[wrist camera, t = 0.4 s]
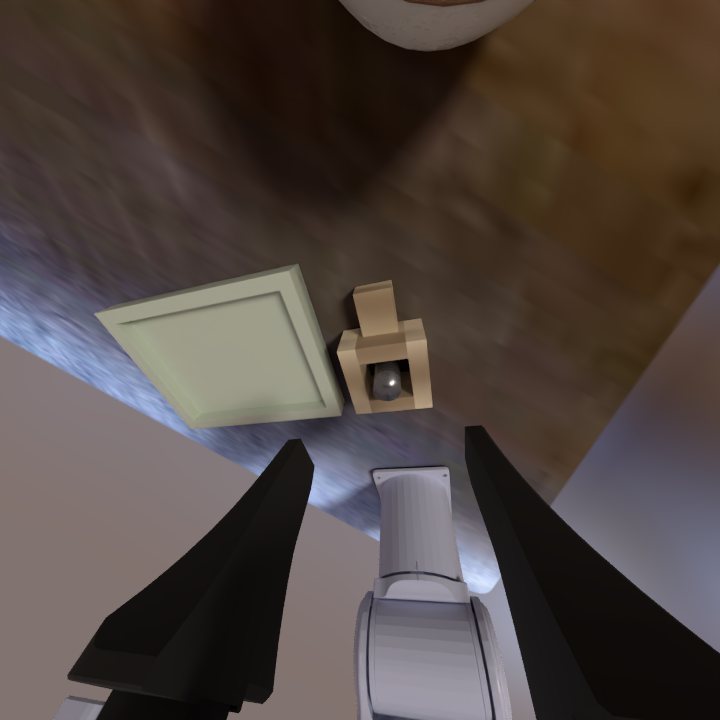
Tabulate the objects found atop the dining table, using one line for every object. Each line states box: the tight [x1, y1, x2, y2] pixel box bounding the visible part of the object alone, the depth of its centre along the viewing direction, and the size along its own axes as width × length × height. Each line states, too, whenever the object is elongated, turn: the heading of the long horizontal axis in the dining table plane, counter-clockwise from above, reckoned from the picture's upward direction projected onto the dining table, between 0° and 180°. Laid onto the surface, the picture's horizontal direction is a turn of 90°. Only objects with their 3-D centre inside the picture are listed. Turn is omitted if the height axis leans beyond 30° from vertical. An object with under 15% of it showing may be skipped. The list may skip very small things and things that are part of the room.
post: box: [373, 360, 401, 401], centre depth 18 cm, size 2×2×4 cm
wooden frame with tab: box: [337, 280, 433, 414], centre depth 18 cm, size 9×6×3 cm, turn 13°
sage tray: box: [95, 264, 345, 429], centre depth 20 cm, size 12×15×2 cm
